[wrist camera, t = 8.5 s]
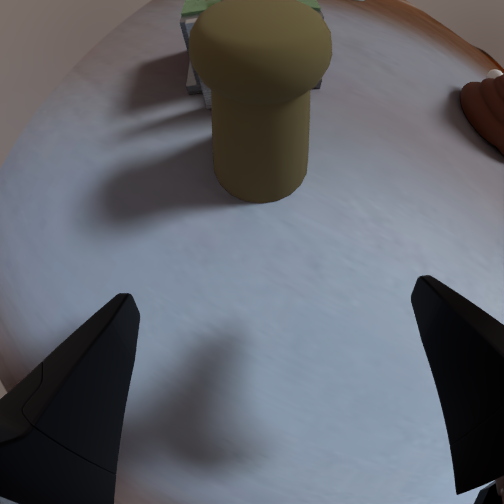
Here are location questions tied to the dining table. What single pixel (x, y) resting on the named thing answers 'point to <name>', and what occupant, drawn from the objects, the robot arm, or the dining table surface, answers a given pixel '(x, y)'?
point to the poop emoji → (486, 107)
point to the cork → (260, 90)
